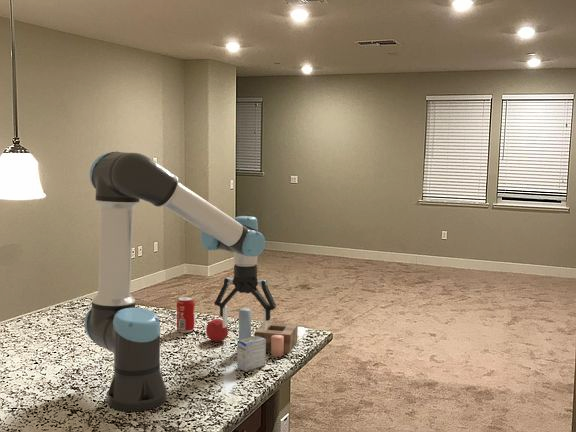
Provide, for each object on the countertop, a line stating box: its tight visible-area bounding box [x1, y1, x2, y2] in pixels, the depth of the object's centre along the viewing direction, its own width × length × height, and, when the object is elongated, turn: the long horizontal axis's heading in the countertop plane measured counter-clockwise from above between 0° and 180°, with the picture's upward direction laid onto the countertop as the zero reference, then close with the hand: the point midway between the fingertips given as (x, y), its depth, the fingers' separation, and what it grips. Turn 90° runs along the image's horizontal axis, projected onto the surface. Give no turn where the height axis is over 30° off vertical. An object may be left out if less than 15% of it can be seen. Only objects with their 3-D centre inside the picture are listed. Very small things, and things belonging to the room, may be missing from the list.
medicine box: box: [236, 335, 267, 372], centre depth 190 cm, size 8×4×9 cm, turn 135°
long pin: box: [238, 307, 252, 341], centre depth 204 cm, size 4×4×14 cm
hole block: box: [254, 321, 299, 354], centre depth 211 cm, size 12×12×6 cm
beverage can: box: [176, 296, 195, 334], centre depth 225 cm, size 6×6×12 cm
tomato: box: [205, 318, 229, 343], centre depth 215 cm, size 8×8×8 cm
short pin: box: [270, 335, 284, 358], centre depth 202 cm, size 4×4×6 cm
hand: (244, 328), depth 204 cm, fingers open, 13 cm apart
